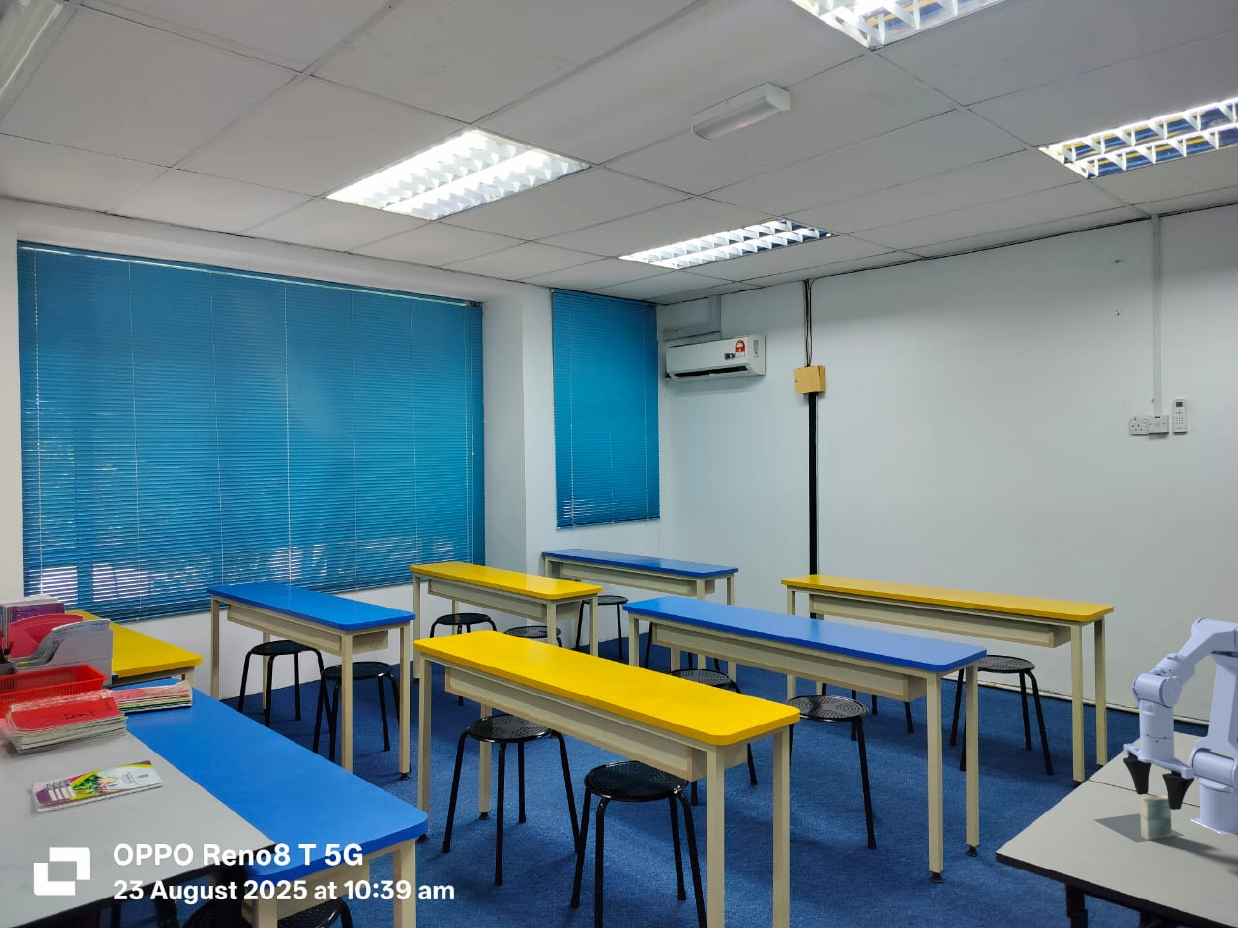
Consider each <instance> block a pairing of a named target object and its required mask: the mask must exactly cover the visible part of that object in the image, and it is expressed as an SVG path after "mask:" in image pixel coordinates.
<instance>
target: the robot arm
mask: <svg viewBox="0 0 1238 928" xmlns="http://www.w3.org/2000/svg"><path fill="white" fill-rule="evenodd" d="M1207 656H1209V658H1212V659H1213V661H1214V662H1215V663H1216V669H1215V670H1216V671H1215V678H1214V686H1213V693H1212V694H1213V695H1212V700H1211V701H1212V702H1211V708H1210V716H1209V724H1208V731H1207V735H1206V736H1204V737H1202V738H1200V739H1198V740H1195V741H1194V742H1193V743H1194V744H1193V747H1192V751H1191V753H1190V754H1189V757H1188V761H1187V762H1188V764H1186V763H1185V762H1183V761H1182V760H1180V759H1179V758H1177V757H1175V731H1174V730H1175V729H1174V706H1176V705H1177V704H1178V702H1179V700H1180V696H1181V694H1182V693H1183V690H1184V689H1183V687H1184V686H1185V685H1186V684H1187V683H1188V681H1190V680H1191V679H1192V678H1193V677H1194V676H1195V674H1196V667H1195V666H1196V665H1197V664H1198V663H1200V662H1201V661H1202V660H1204V659H1205V658H1206V657H1207ZM1131 692H1132V695H1133V697H1134V699H1135V701H1136V702H1135V704H1136V705H1135V706H1136V708H1137V709H1138V710H1139V734H1140V735H1139V737H1140V739H1139V742H1140V746H1139V745H1136V744H1133V743H1125V744H1123V754H1124V755H1127V757H1123V758H1122V760H1123V761H1122V762H1123V763H1124V765H1125V766H1126V768H1127V770H1128V772H1129V774H1130V776H1131V779H1132V781H1133V784H1134V785H1133V786H1134V788H1135V791H1136V794H1137V795H1148V793H1149V789H1150V788H1149V787H1150V786H1149V785H1150V781H1149V780H1150V772H1151V767H1152V765H1155V766H1157V767H1160V768H1161V769H1162V768H1163V769H1164V770H1168V771H1169V772H1170V773H1168V772H1167V773H1162V774H1161V776H1162V779H1163V781H1164V784H1165V788H1166V791H1167V797H1168V804H1169V808H1170V809H1171V811H1176V810H1181V809H1182V805H1183V802H1184V798H1185V797H1186V794H1187V792H1188V789H1189V788H1190V786H1191V785H1192V783H1194V781H1195V782H1197V783H1199V784H1198V785H1199V816H1198V817H1193V818H1189V820H1190V821H1192V822H1194V823H1196V824H1199V825H1201V826H1203V827H1206V828H1207V829H1209V830H1212V831H1214V832H1216V833H1219V834H1221V835H1223V836H1224V835H1225V836H1228V835H1234V834H1238V622H1232V621H1225V620H1219V619H1211V618H1206V617H1198V618H1197V619H1195V621H1194V622H1193V623H1192V625H1191V630H1190V638H1189V639H1188V640H1187V641H1186V642H1185V644H1184V645H1183V646H1182V648H1181V649H1180V650H1179V651H1178V652H1177V653H1176V652H1175V653H1172V652H1170V653H1168V654H1167V655H1166V656H1165V657H1163V659H1161V660H1160V661H1159V662H1158V663H1157V664H1156V665H1155V666H1154V667H1153V668H1152V669H1151V670H1150V671H1149V672H1142V673H1139V674H1138V675H1136V676H1135V678H1134V680H1133V683H1132V687H1131ZM1220 753H1222V754H1220ZM1225 754H1226V755H1225Z"/></svg>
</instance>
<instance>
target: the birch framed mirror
mask: <svg viewBox="0 0 1238 928" xmlns="http://www.w3.org/2000/svg"><path fill="white" fill-rule="evenodd" d="M1139 798H1140V803H1139V804H1140V814H1141V837H1143V838H1145V839H1147V840H1150V841H1153V840H1152V839H1157V840H1159V839H1158V838H1164V839H1166V838H1165V837H1171V838H1173V837H1172V834H1171V829H1172V810H1171V809H1170V808H1169V804H1168V795H1165V794H1162V795H1155V796H1153V795H1152V796H1147V797H1146V796H1145V797H1139Z"/></svg>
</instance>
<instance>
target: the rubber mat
mask: <svg viewBox="0 0 1238 928" xmlns="http://www.w3.org/2000/svg"><path fill="white" fill-rule="evenodd" d="M1093 821H1094V822H1097V823H1098V824H1101V825H1103V826H1105V827H1106V828H1108V829H1110V830H1112V831H1114V832H1116V833H1118V834H1120V835H1122V836H1124V837H1126V838H1127V839H1129V840H1131V841H1133V842H1135V843H1142V842H1149V841H1155V840H1162V839H1170V838H1176V837H1183V836H1185V835H1184V834H1183V833H1181V832H1178V831H1176V830H1174V829H1172V828H1171V834H1172V837H1165V838H1158V839H1152V840H1147V839H1145V838H1143V837H1141V813H1132V814H1124V815H1118V816H1110V817H1104V818H1102V817H1101V818H1096V819H1095V818H1094V819H1093Z"/></svg>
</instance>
